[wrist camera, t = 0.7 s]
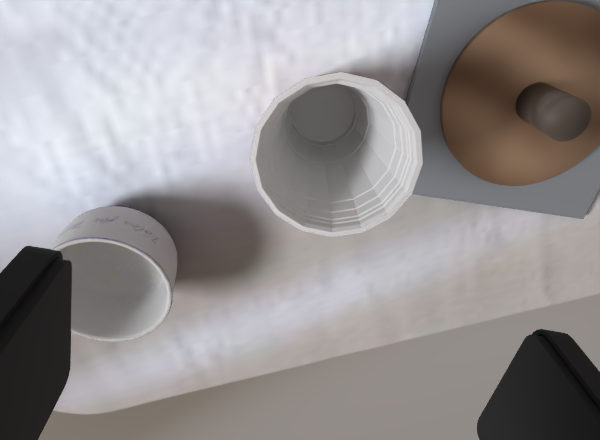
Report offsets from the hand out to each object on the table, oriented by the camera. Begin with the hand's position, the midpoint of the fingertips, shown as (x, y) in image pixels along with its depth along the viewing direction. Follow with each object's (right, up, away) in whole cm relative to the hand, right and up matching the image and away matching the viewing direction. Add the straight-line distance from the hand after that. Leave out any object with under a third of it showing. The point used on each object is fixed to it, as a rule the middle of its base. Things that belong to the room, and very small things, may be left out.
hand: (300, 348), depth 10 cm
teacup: (-18, 0, +36) cm, 40 cm away
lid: (+19, +13, +30) cm, 38 cm away
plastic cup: (+2, +12, +30) cm, 33 cm away
